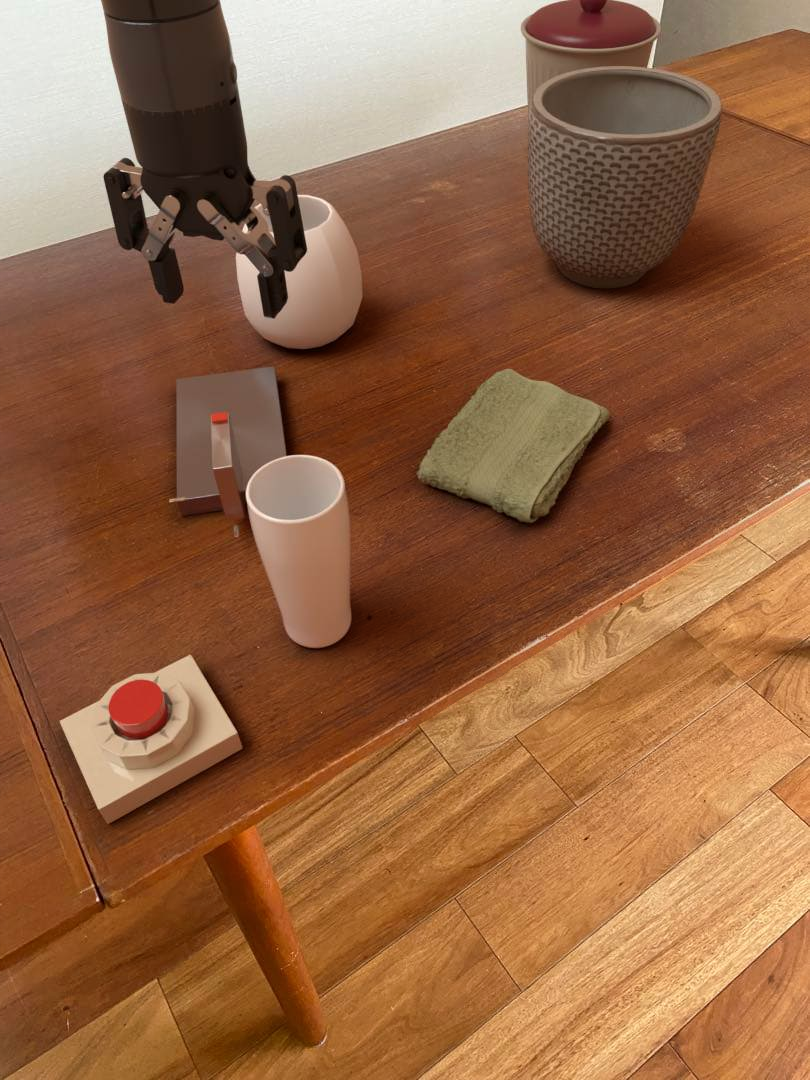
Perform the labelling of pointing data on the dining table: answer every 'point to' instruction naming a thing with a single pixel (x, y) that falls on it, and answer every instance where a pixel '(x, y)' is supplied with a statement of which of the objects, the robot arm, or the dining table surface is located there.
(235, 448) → the spout
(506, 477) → the washcloth
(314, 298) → the cup
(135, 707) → the button
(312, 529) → the drinking glass
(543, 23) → the canister
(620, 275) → the planter
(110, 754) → the button block
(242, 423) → the base
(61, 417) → the dining table surface
